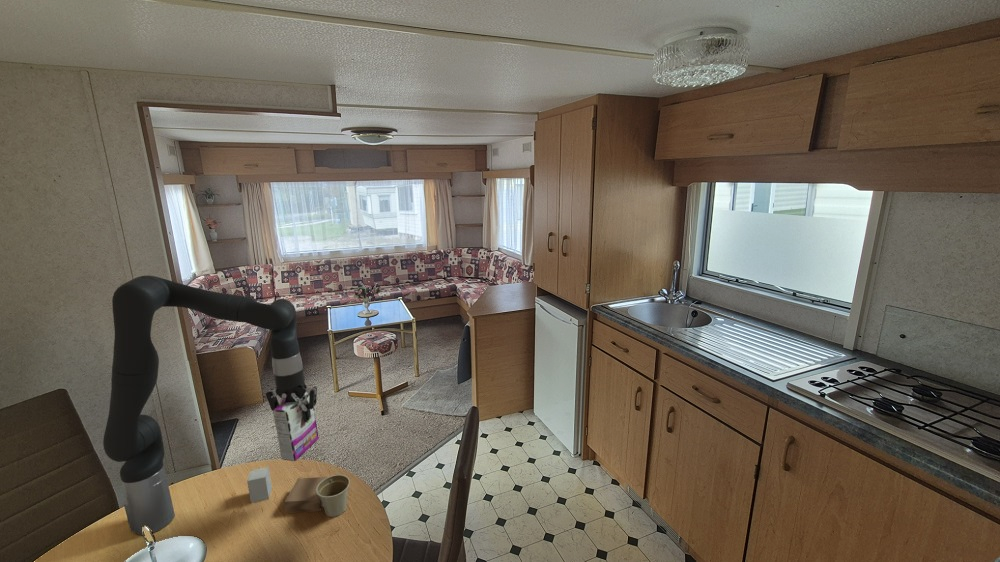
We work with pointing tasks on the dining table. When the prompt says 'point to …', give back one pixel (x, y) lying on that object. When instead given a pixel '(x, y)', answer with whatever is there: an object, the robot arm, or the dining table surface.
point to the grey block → (259, 484)
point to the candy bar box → (294, 430)
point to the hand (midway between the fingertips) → (296, 421)
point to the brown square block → (304, 496)
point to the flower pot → (334, 494)
